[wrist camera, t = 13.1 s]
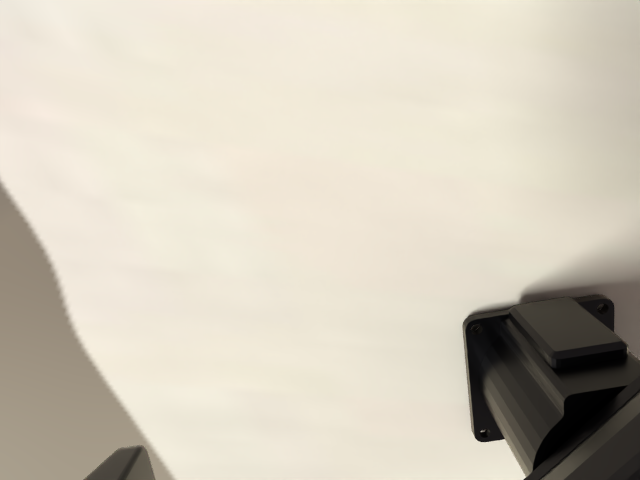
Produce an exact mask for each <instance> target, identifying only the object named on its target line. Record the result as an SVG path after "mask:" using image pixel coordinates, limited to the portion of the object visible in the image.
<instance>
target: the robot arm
mask: <svg viewBox="0 0 640 480" xmlns="http://www.w3.org/2000/svg"><path fill="white" fill-rule="evenodd" d="M600 304H603V307H602V308H601V309H600V310H597V307H598V306H599V305H600ZM476 324H479V328H478V329H476V330H471V327H472V326H473V325H476ZM463 338H464V349H465V360H466V371H467V383H468V394H469V405H470V416H471V427H472V432H473V434H474V436H475V438H476V439H477V440H478V441H480V442H489V441H496V440H502V439H505V440H506V442H507V443H508V445H509V447H510V449H511V451H512V452H513V454H514V456H515V458H516V460H517V461H518V463H519V465H520V467H521V469H522V470H523V472H524V474H525V476H526V478H525V479H524V480H640V360H638V359H637V358H636V357H635V356H634V355H632V354H631V353H630V352H629V351H628V345H627V343H626V342H625V341H623V340H622V339H621V338H620V337H618V336H617V335H616V334H615V333H614V303H613V302H612V301H611V300H610V299H609V298H607V297H606V296H604V295H593V296H587V297H581V298H575V299H572V298H570V297H562V298H556V299H550V300H544V301H538V302H532V303H526V304H520V305H514V306H513V307H512V308H510V309H508V310H502V311H495V312H489V313H483V314H477V315H472V316H469V317H468V318H466V319H465V321H464V322H463ZM483 429H487V430H486V431H484V432H480V431H481V430H483ZM84 480H155V476H154V473H153V469H152V465H151V462H150V458H149V455H148V452H147V450H146V448H145V447H144V446H142V445H137V446H130V447H122V448H120V449H118V450H116V451H115V452H114V453H113V454H112V455H111V456H109V457H108V458H107V459H106V460H105V461H104V462H103V463H102V464H100V465H99V466H98V467H97V468H96V469H95V470H94V471H93V472H92V473H90V474H89V475H88V476H87V477H86V478H85V479H84Z"/></svg>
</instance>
